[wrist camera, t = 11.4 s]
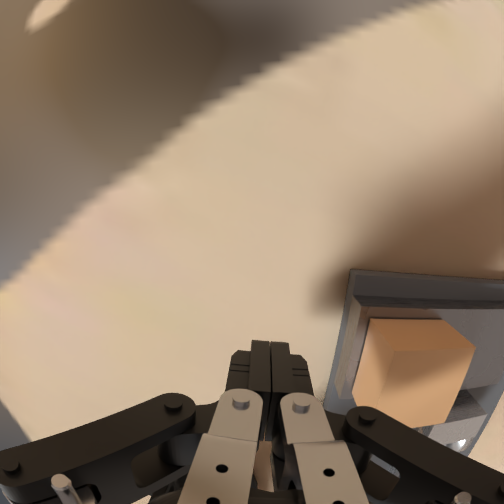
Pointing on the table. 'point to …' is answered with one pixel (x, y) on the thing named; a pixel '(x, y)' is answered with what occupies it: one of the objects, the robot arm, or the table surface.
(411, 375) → the tab
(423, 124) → the table surface
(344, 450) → the robot arm
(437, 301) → the base
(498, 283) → the tray
